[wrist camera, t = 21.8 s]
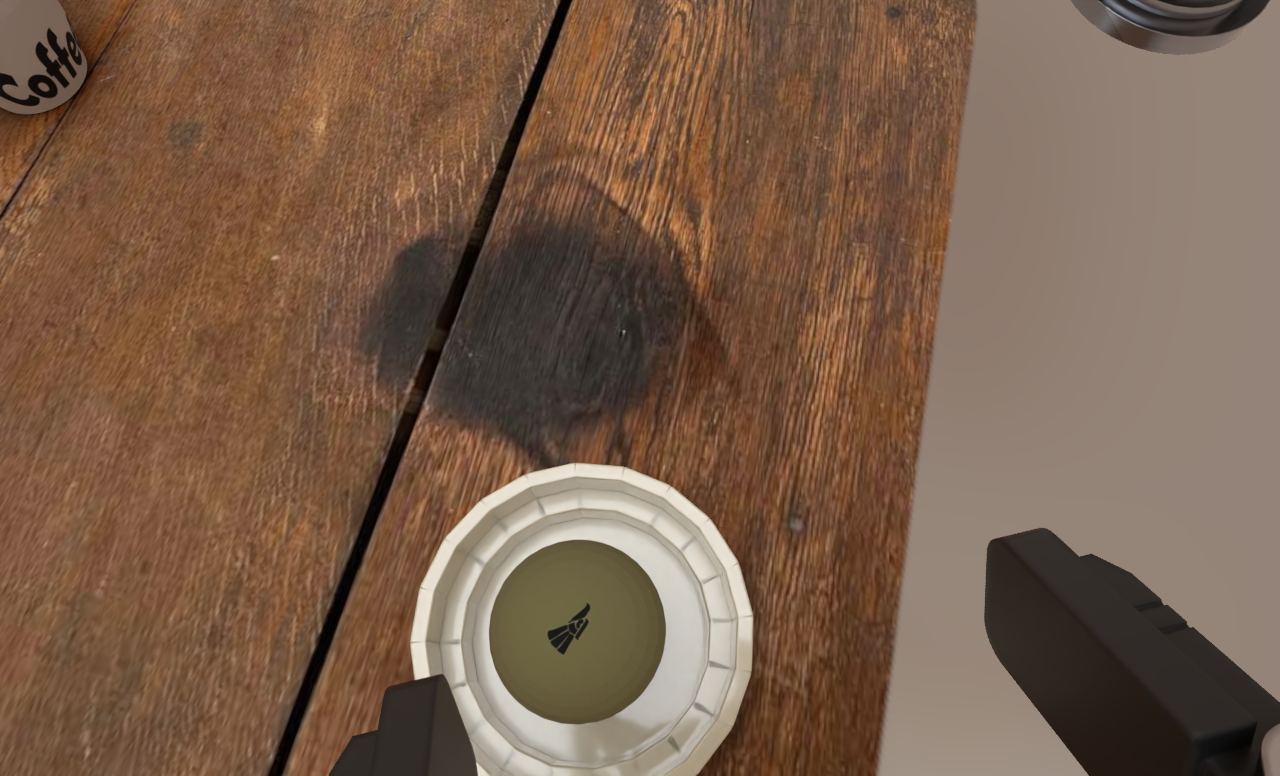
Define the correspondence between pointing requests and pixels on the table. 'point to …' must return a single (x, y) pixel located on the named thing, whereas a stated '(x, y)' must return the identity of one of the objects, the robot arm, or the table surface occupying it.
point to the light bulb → (577, 632)
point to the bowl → (686, 583)
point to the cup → (37, 56)
